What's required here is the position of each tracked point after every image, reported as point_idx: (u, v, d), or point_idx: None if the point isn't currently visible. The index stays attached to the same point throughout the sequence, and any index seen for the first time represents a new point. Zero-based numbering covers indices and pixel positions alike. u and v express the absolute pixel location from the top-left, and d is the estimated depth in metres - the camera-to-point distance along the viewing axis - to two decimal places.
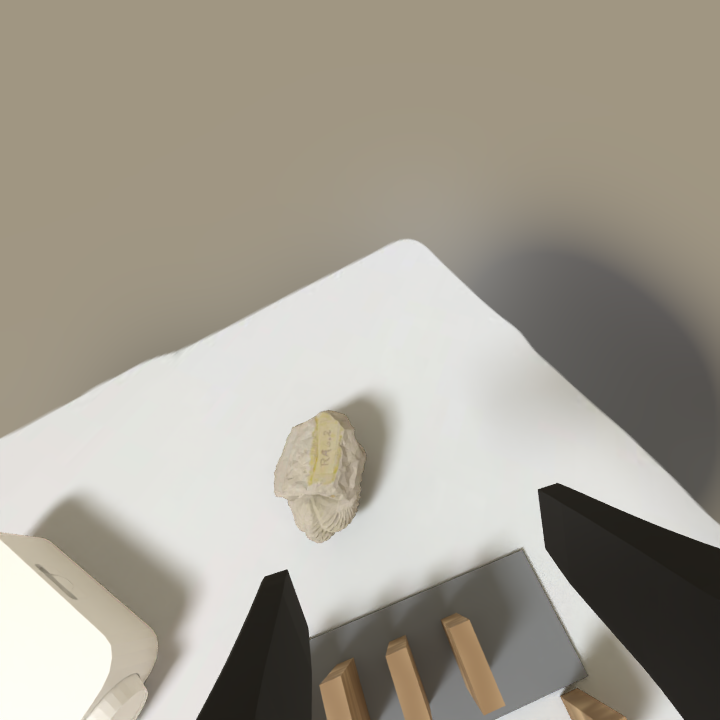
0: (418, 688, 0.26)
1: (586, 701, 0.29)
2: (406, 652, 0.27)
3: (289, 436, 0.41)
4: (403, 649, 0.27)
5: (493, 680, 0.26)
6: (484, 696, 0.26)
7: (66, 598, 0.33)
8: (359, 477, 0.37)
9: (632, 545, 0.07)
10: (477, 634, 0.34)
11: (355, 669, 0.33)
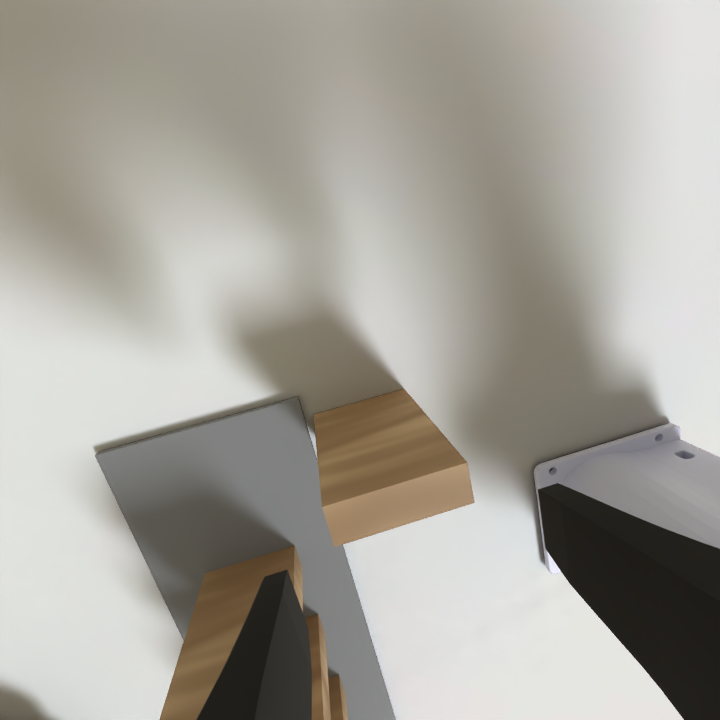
0: None
1: None
2: None
3: None
4: None
5: None
6: None
7: None
8: None
9: (632, 545, 0.07)
10: (236, 547, 0.21)
11: None
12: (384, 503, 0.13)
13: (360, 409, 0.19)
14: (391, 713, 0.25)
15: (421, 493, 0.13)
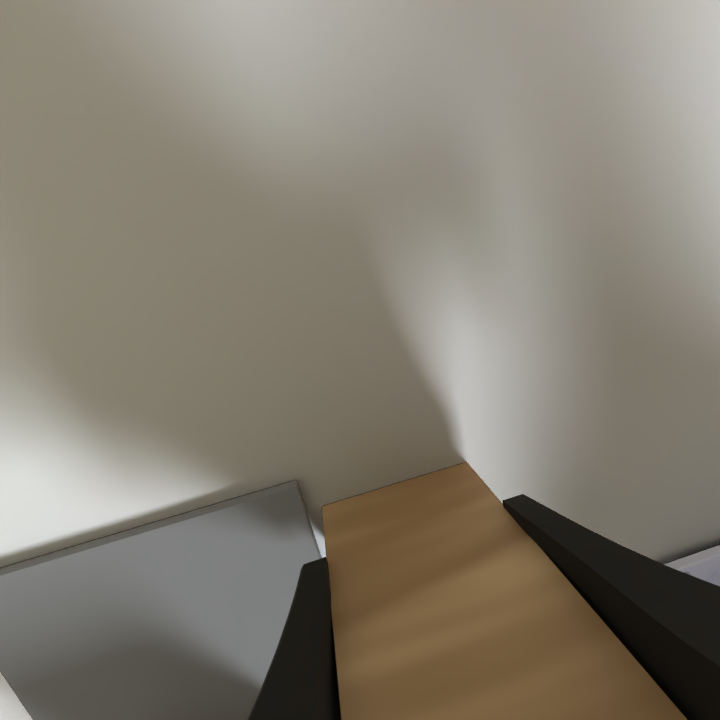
0: None
1: None
2: None
3: None
4: None
5: None
6: None
7: None
8: None
9: (584, 561, 0.07)
10: (198, 713, 0.13)
11: None
12: None
13: (401, 505, 0.11)
14: None
15: None
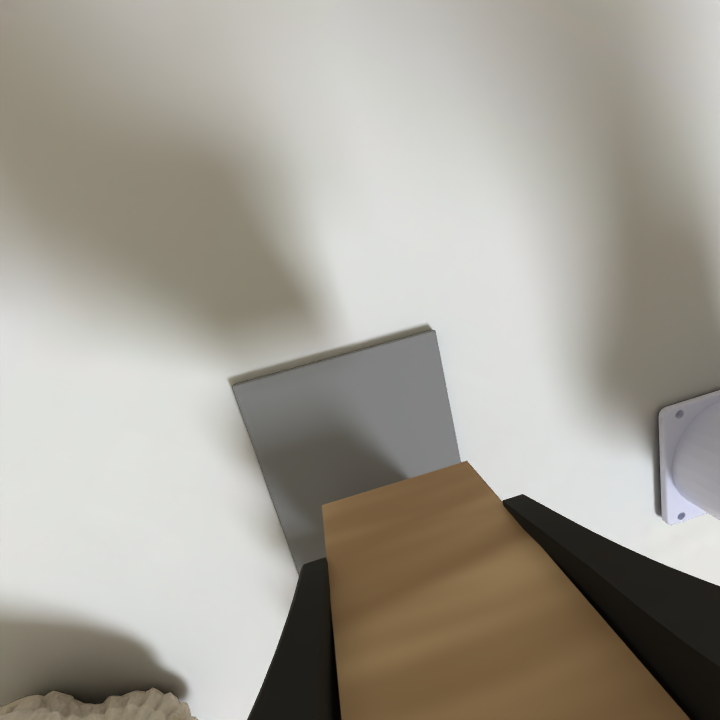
0: None
1: None
2: None
3: None
4: None
5: None
6: None
7: None
8: None
9: (584, 561, 0.07)
10: (362, 488, 0.20)
11: None
12: None
13: (401, 504, 0.11)
14: None
15: None
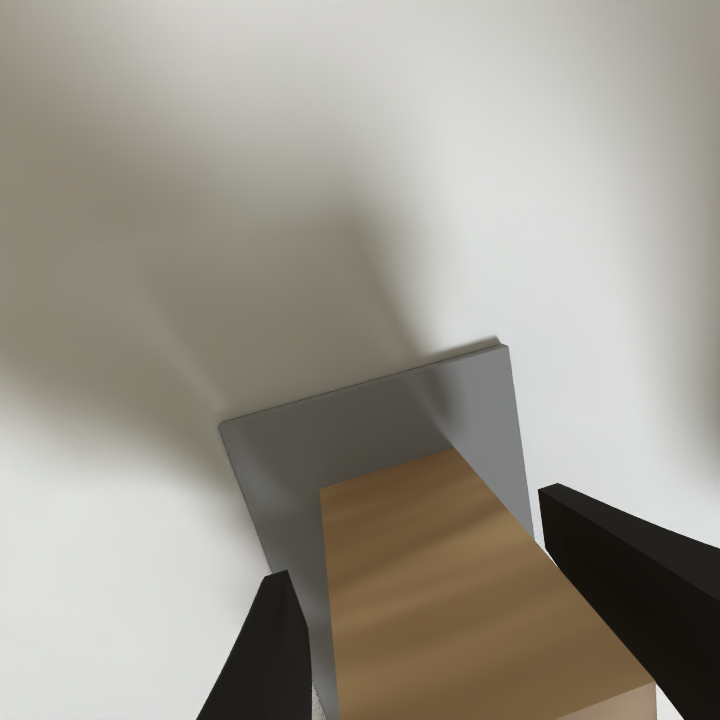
0: None
1: None
2: None
3: None
4: None
5: None
6: None
7: None
8: None
9: (632, 545, 0.07)
10: None
11: None
12: None
13: (392, 486, 0.12)
14: None
15: None
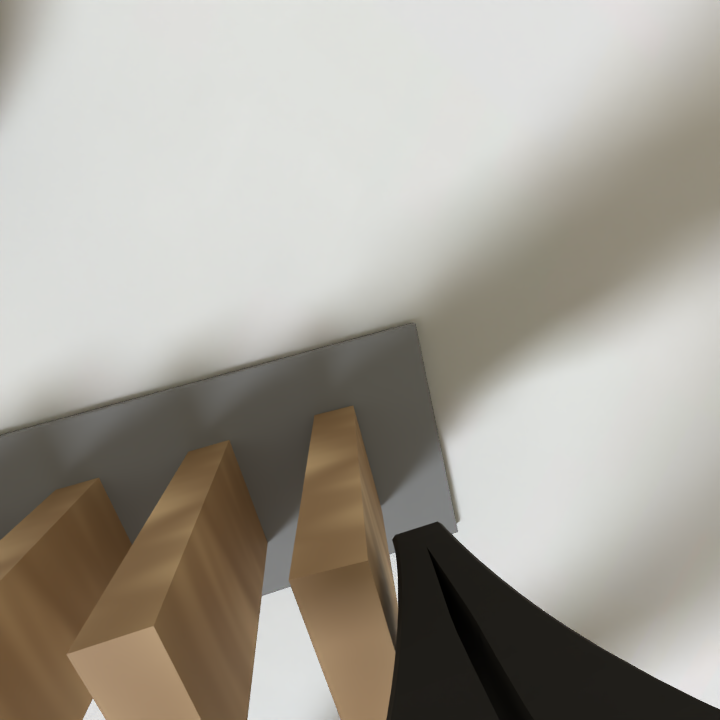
0: None
1: (337, 448, 0.12)
2: None
3: None
4: None
5: None
6: None
7: None
8: None
9: (465, 602, 0.07)
10: (270, 476, 0.15)
11: None
12: (363, 642, 0.08)
13: (369, 472, 0.15)
14: None
15: (375, 685, 0.08)
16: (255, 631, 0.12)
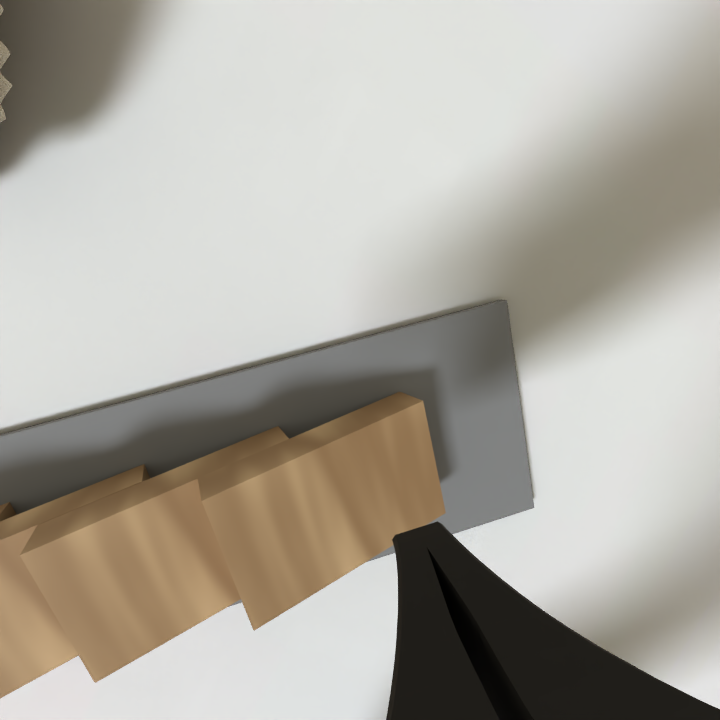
0: None
1: (338, 429, 0.13)
2: None
3: None
4: None
5: (76, 647, 0.12)
6: None
7: None
8: None
9: (465, 602, 0.07)
10: None
11: None
12: None
13: (410, 469, 0.14)
14: None
15: None
16: (216, 609, 0.13)
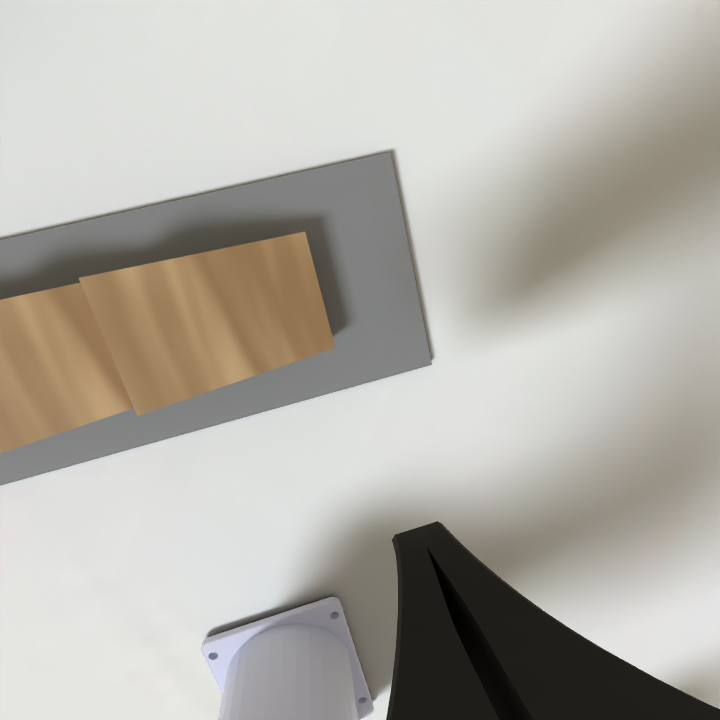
0: None
1: None
2: None
3: None
4: None
5: None
6: None
7: None
8: None
9: (465, 602, 0.07)
10: None
11: None
12: None
13: (295, 296, 0.16)
14: None
15: None
16: (111, 411, 0.15)
